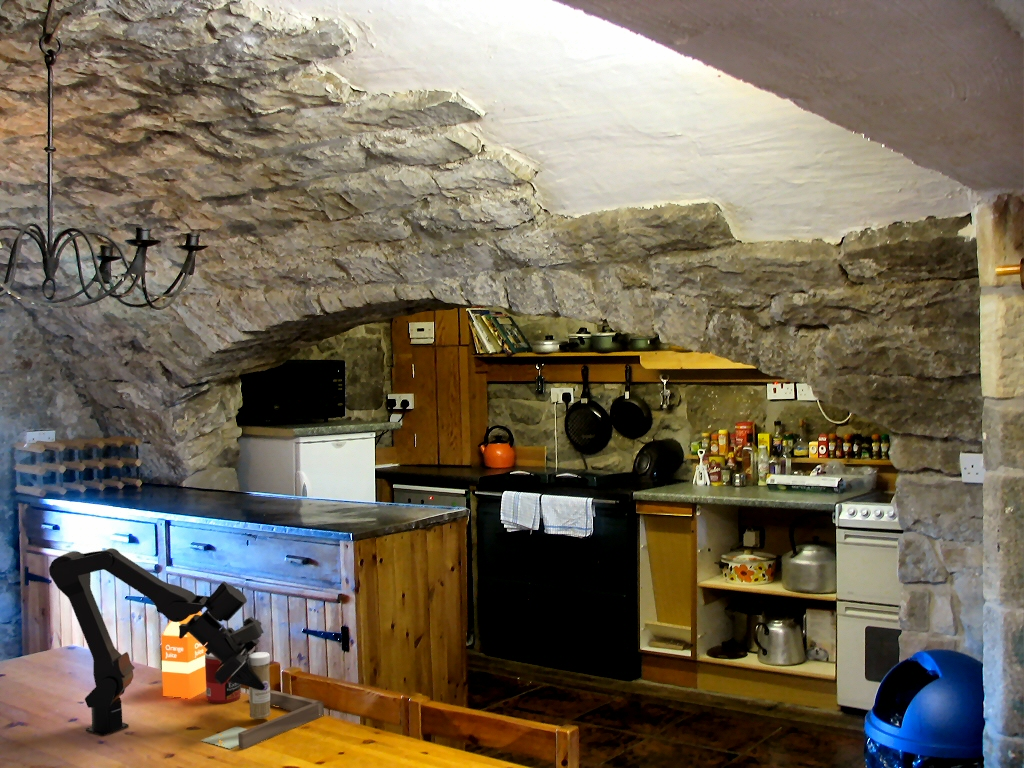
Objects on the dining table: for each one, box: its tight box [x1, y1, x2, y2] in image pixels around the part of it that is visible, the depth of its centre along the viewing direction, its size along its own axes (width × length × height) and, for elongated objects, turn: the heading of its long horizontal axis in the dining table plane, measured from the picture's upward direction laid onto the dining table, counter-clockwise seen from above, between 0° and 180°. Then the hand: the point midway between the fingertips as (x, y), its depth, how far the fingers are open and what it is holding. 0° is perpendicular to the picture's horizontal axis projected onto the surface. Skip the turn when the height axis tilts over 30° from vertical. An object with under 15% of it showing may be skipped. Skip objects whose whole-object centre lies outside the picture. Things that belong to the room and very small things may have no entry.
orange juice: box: [160, 611, 207, 700], centre depth 229 cm, size 8×9×20 cm
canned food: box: [205, 653, 242, 704], centre depth 223 cm, size 8×8×11 cm
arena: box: [200, 689, 325, 750], centre depth 206 cm, size 22×24×3 cm
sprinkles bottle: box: [248, 651, 272, 720], centre depth 207 cm, size 5×5×13 cm
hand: (266, 685), depth 207 cm, fingers closed on sprinkles bottle, 4 cm apart
